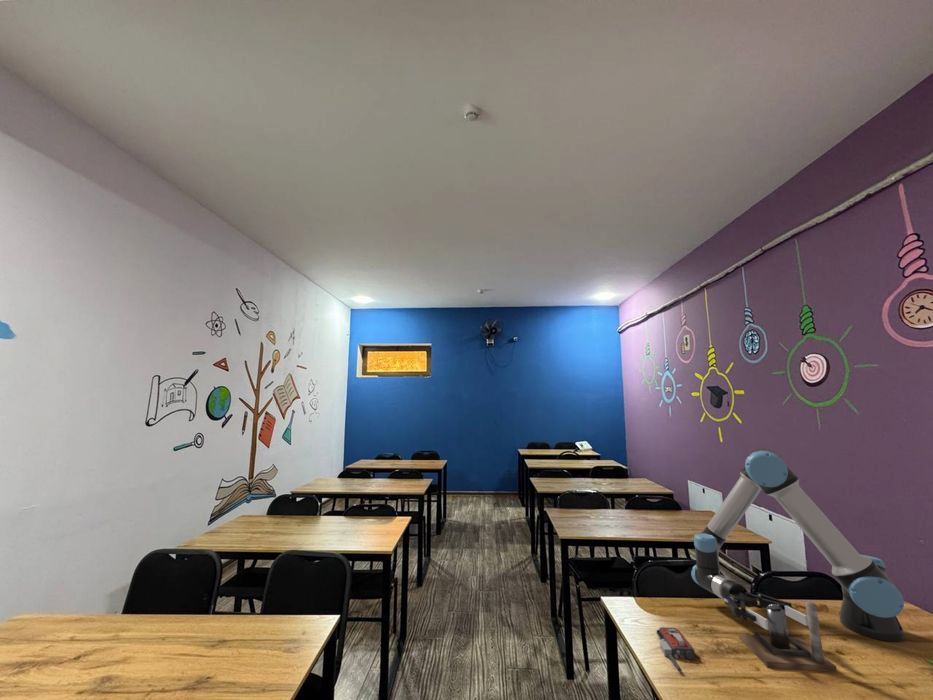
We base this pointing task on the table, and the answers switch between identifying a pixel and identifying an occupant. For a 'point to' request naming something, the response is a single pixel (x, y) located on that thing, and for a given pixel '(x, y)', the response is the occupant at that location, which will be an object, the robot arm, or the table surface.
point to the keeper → (793, 647)
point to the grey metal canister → (778, 626)
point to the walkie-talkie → (675, 645)
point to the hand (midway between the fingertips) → (787, 622)
